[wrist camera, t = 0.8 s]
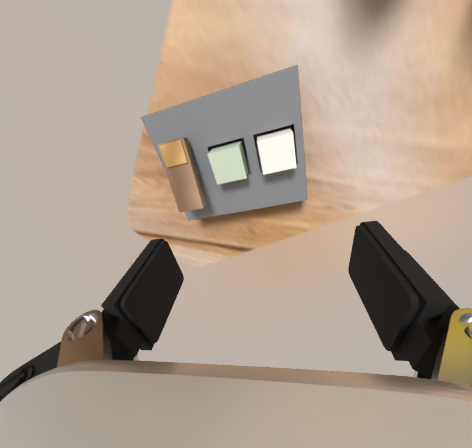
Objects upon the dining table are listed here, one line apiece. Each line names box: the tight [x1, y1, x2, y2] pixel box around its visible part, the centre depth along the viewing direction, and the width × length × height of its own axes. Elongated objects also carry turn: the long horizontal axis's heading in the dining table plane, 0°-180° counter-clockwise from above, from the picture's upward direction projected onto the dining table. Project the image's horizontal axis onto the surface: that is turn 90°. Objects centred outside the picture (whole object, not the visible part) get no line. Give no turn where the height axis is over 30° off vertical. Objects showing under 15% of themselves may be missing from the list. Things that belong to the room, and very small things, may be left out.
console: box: [141, 65, 308, 221], centre depth 25 cm, size 17×14×5 cm
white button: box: [257, 128, 297, 175], centre depth 22 cm, size 4×4×3 cm
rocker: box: [158, 137, 206, 212], centre depth 23 cm, size 3×8×1 cm, turn 15°
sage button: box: [207, 140, 249, 185], centre depth 23 cm, size 4×4×3 cm
